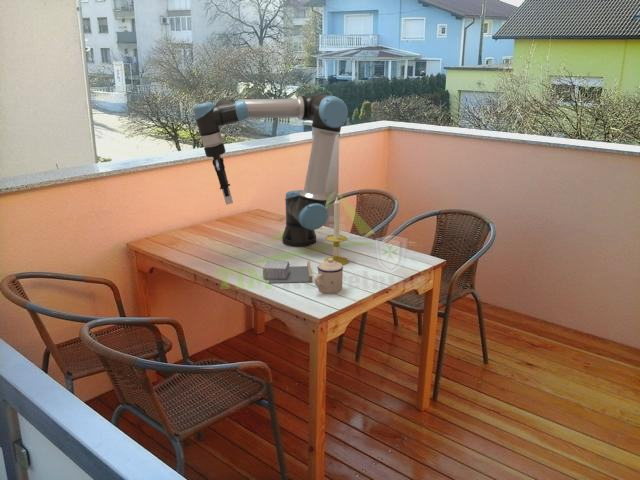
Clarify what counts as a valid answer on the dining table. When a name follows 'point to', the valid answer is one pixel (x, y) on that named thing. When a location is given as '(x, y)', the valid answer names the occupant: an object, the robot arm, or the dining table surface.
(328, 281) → the teacup with lid
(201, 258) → the dining table surface
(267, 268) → the medicine box
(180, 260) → the dining table surface
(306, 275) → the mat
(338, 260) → the candle
